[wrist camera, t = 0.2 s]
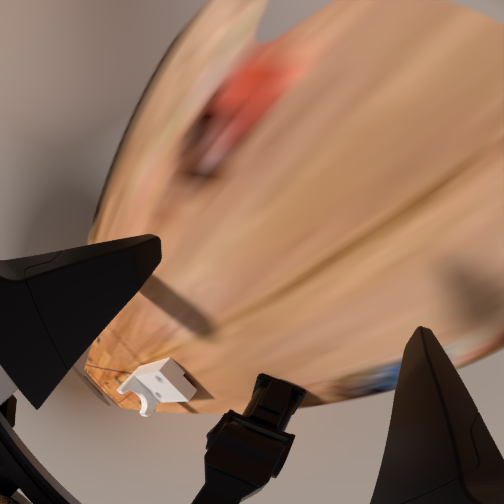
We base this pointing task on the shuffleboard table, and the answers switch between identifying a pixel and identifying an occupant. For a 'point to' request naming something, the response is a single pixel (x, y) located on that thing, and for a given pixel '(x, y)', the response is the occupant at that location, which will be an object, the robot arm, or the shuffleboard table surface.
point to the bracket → (158, 384)
